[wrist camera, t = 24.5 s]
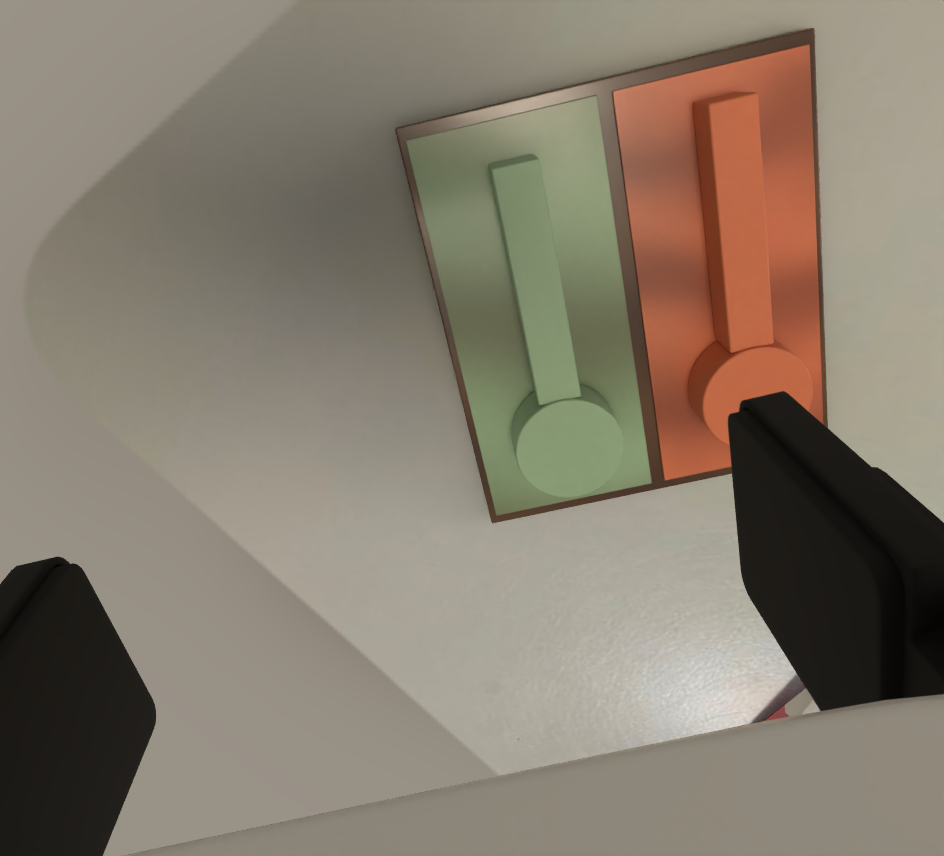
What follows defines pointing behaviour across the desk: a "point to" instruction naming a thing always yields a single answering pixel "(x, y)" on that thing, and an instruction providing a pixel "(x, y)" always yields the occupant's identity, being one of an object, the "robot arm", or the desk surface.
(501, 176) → the spoon sage
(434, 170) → the board
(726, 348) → the spoon terracotta
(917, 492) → the desk surface
